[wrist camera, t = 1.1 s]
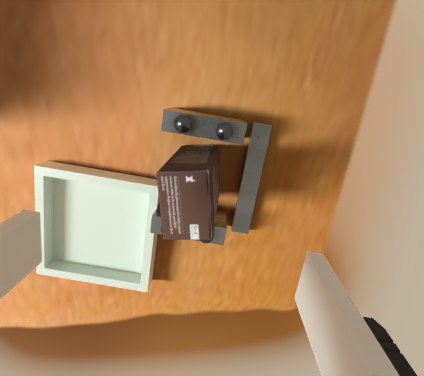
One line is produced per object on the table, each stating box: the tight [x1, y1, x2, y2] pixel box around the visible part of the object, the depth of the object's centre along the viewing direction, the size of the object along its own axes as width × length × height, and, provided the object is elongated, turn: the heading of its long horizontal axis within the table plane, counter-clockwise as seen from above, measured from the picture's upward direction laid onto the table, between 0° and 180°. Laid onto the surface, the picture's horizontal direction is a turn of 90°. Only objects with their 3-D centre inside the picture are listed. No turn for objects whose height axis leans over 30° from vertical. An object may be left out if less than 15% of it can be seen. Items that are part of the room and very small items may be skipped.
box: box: [157, 144, 219, 240], centre depth 29 cm, size 6×4×12 cm
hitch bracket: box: [150, 108, 272, 245], centre depth 32 cm, size 11×13×6 cm
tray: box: [34, 161, 159, 292], centre depth 36 cm, size 14×14×3 cm
